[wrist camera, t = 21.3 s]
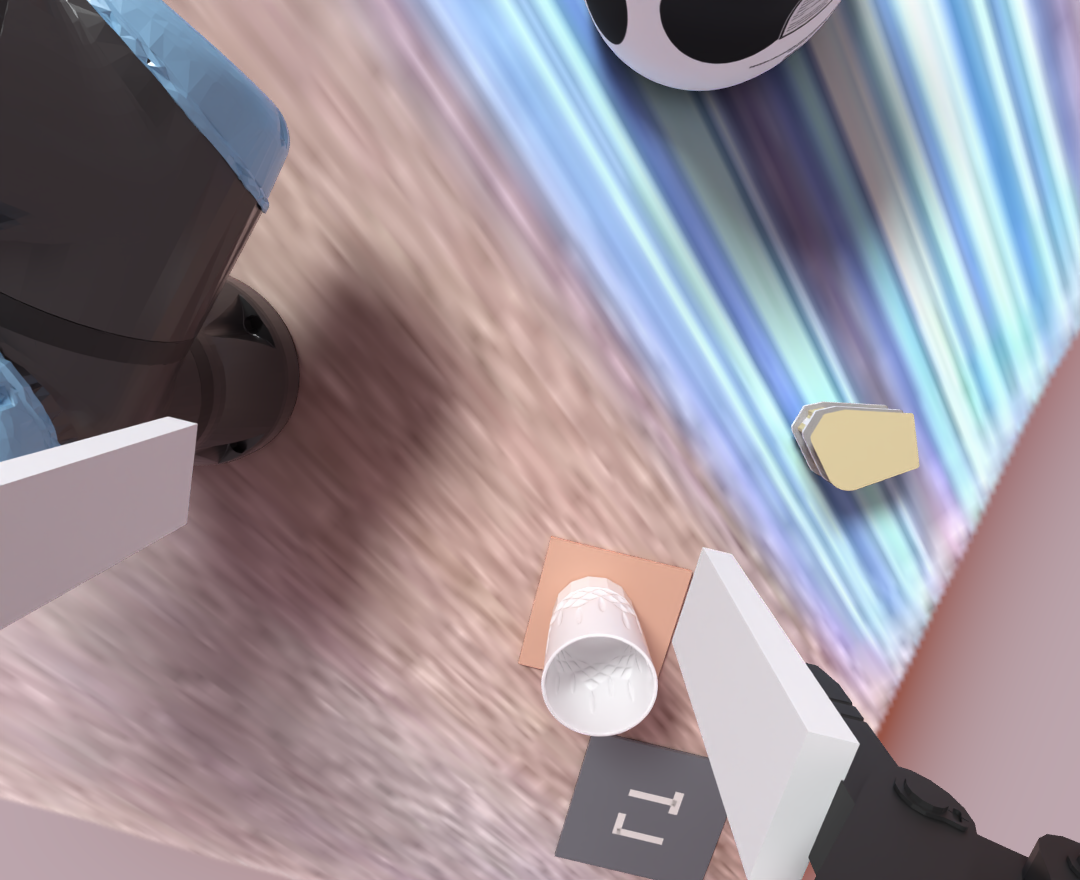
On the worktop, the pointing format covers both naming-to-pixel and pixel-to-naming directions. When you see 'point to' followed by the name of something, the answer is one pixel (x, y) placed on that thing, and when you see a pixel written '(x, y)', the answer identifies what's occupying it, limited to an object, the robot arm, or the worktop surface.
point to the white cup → (597, 660)
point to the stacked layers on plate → (856, 442)
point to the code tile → (643, 811)
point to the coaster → (642, 580)
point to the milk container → (706, 37)
